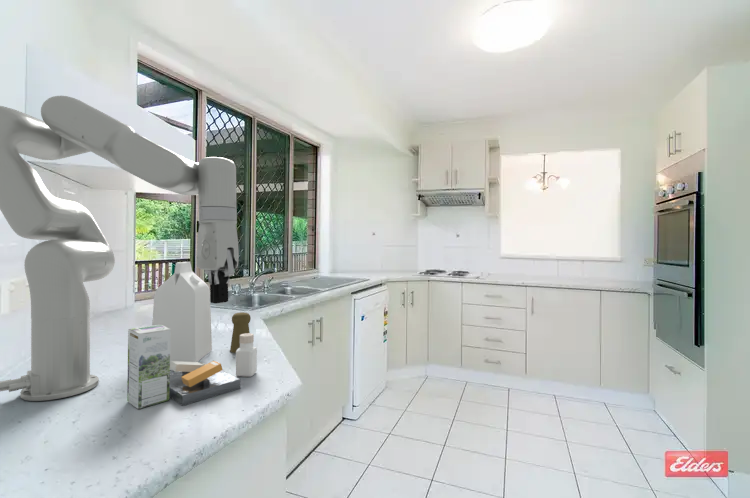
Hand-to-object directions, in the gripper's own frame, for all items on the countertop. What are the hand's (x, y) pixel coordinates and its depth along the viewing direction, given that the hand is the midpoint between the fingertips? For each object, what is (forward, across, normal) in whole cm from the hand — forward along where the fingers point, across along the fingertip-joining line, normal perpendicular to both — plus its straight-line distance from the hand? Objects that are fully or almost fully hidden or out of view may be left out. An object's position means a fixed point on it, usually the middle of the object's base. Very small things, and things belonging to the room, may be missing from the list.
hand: (219, 302), depth 80 cm
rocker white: (+14, -7, -4) cm, 16 cm away
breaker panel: (+18, -4, -4) cm, 19 cm away
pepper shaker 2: (+19, -4, +8) cm, 21 cm away
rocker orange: (+14, -1, -4) cm, 15 cm away
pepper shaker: (+19, -24, +18) cm, 35 cm away
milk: (+18, -30, +4) cm, 35 cm away
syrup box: (+18, -4, -13) cm, 23 cm away
